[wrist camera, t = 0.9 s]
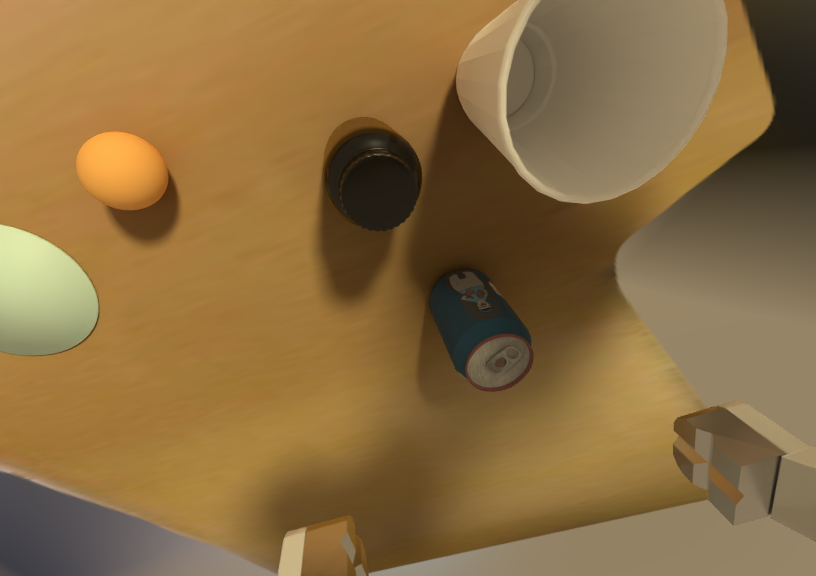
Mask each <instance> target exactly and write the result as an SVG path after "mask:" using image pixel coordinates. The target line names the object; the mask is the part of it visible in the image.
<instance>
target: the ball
mask: <svg viewBox="0 0 816 576" xmlns="http://www.w3.org/2000/svg"><path fill="white" fill-rule="evenodd" d="M76 169H77V174H78V178H79V180H80V182H81V184H82V185H83V187H84V188H85V189H86V191H87V192H88V193H89V194H90V195H91V196H92V197H94V198H95V199H96V200H98V201H99V202H101V203H103V204H105V205H107V206H110V207H113V208H116V209H121V210H138V209H143V208H146V207H149V206H150V205H152V204H154V203H155V202H157V201H158V200H159V199H160V198H161V197H162V196H163V194H164V193H165V191H166V188H167V185H168V179H169V178H168V169H167V166H166V163H165V161H164V159H163V157H162V156H161V154H160V153H159V152H158V151H157V150H156V149H155V148H154V147H153V146H152V145H151V144H150V143H148V142H147V141H145V140H143V139H142V138H140V137H137V136H135V135H132V134H129V133H124V132H106V133H101V134H99V135H96V136H94V137H92V138H90V139H89V140H88V141H87V142H86V143H85V144H84V145H83V146H82V147H81V149H80V150H79V153H78V155H77V159H76Z"/></svg>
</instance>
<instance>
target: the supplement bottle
mask: <svg viewBox="0 0 816 576" xmlns="http://www.w3.org/2000/svg"><path fill="white" fill-rule="evenodd" d="M323 182H324V188H325V192H326V195H327V198H328V200H329V202H330V203H331V205H332V207H333V208H334V209H335V210H336V212H337V213H338V214H339V215H340V216H342V217H343V218H344V219H346V220H347V221H349V222H351V223H353V224H355V225H358V226H361V227H362V228H367V229H368V230H375V231H380V230H382V231H386V230H387V229H393V228H394V227H397V226H399V225H400V224H401V223H403V222H405V220H406V218H408V217H409V216H410V213H411V212H412V211H413V210H414V206H415V205H416V201H417V199H418V197H419V194H420V191H421V186H422V169H421V165H420V162H419V159H418V157H417V154H416V153H415V151H414V149H413V148H412V147H411V145H410V144H409V143H408V142H407V141H406V140H405V139H404V138H403V137H402V136H401V135H399V134H398V133H397V132H396V131H394V130H393V129H392V128H391V127H389V126H388V125H387V124H385V123H383V122H382V121H379V120H377V119H374V118H368V117H359V118H354V119H350V120H348V121H346V122H344V123H343V124H341V125H340V126H339V127H337V128H336V129H335V130H334V132H333V133H332V134H331V136H330V138H329V140H328V142H327V145H326V148H325V153H324V167H323Z"/></svg>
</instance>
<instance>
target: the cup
mask: <svg viewBox="0 0 816 576" xmlns="http://www.w3.org/2000/svg"><path fill="white" fill-rule="evenodd" d="M727 20H728V17H727V12H726V7H725V3H724V0H517V1H516V2H515V3H514V4H512V5H511V6H510V7H509V8H507V9H506V10H505V11H504V12H503V13H501V14H500V15H499V16H498V17H496V18H495V19H494V20H493V21H491V22H490V23H489V24H488V25H487V26H485V27H484V28H483V29H482V30H481V31H480V32H478V33H477V34H476V35H475V37H474V38H473V40H472V41H471V42H470V44H469V45H468V47H467V48H466V50H465V51H464V53H463V54H462V57H461V59H460V62H459V64H458V68H457V74H456V91H457V94H458V97H459V101H460V103H461V104H462V108H463V109H464V111H465V113H466V114H467V116H468V118H469V119H470V120H471V121H472V123H473V124H474V125H475V126H476V127H477V128H478V129H479V130H480V131H481V132H482V133H483V134H484V135H485V136H486V137H487V138H488V139H489V140H490V142H491V143H492V144H493V145H494V146H495V147H496V148H497V149H498V150H499V151H500V152H501V153H502V154H503V155H504V156H505V157H506V158H507V160H508V161H509V162H510V163H511V164H512V165H513V166H514V167H515V169H516V171H517V173H518V174H519V175H520V176H521V177H522V178H523V179H524V180H525V181H527V182H528V183H529V184H530V185H531V186H532V187H533V188H534V189H535V190H537V191H538V192H540V193H542V194H545V195H547V196H549V197H551V198H554V199H556V200H558V201H562V202H572V203H582V204H589V203H594V202H600V201H605V200H611V199H614V198H616V197H618V196H620V195H623V194H625V193H627V192H629V191H632V190H634V189H636V188H638V187H640V186H641V185H642V184H644V183H645V182H647V181H648V180H649V179H651V178H652V177H654V176H655V175H656V174H658V173H659V172H661V171H662V170H663V169H664V168H665V167H666V166H667V165H668V164H669V163H670V162H671V161H672V160H673V159H674V158H675V157H676V156H677V155H678V154H679V152H680V151H681V150H682V149H683V148H684V147H685V146H686V145H687V143H688V142H689V140H690V139H691V137H692V136H693V134H694V133H695V131H696V130H697V128H698V127H699V125H700V124H701V122H702V121H703V119H704V117H705V115H706V113H707V111H708V108H709V106H710V104H711V102H712V99H713V97H714V95H715V93H716V90H717V88H718V85H719V81H720V77H721V73H722V69H723V64H724V60H725V56H726V52H727Z"/></svg>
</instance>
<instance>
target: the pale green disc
mask: <svg viewBox="0 0 816 576" xmlns="http://www.w3.org/2000/svg"><path fill="white" fill-rule="evenodd" d="M98 315H99V302H98V296H97V293H96V290H95V288H94V286H93V284H92V281H91V280H90V278H89V277H88V275H87V274H86V272H85V271H84V270H83V269H82V268H81V266H80V265H79V264H78V263H77V262H76V261H75V260H74V259H73V258H72V257H70V256H69V255H68V254H67V253H65V252H64V251H63V250H62V249H60V248H59V247H57V246H55V245H54V244H52V243H51V242H49V241H47V240H45V239H43V238H41V237H39V236H37V235H35V234H32V233H30V232H27V231H24V230H21V229H18V228H15V227H11V226H6V225H2V224H0V352H5V353H9V354H16V355H28V356H35V355H48V354H54V353H58V352H62V351H64V350H67V349H70V348H72V347H74V346H76V345H77V344H79V343H80V342H81V341H83V340H84V339H85V338H86V337H87V336H88V335H89V334H90V332H91V331H92V330H93V328H94V326H95V324H96V322H97V319H98Z"/></svg>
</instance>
